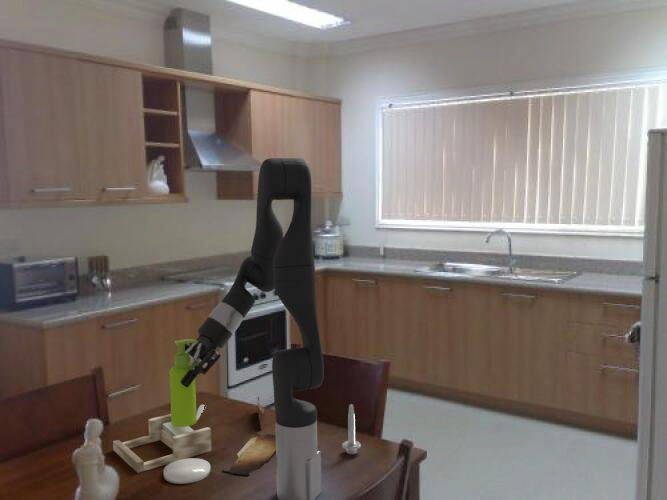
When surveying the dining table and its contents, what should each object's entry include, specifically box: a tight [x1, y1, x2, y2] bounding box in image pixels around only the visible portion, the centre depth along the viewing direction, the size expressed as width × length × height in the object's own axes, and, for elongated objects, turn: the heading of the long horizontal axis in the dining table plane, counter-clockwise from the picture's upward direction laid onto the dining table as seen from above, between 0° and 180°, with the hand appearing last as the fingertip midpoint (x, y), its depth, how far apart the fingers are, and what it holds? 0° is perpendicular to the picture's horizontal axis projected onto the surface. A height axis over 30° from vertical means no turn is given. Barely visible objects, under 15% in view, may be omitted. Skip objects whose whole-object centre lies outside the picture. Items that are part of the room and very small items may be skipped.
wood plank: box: [256, 396, 265, 428], centre depth 182 cm, size 15×2×5 cm, turn 9°
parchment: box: [222, 433, 276, 477], centre depth 159 cm, size 25×10×1 cm, turn 167°
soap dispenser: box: [168, 338, 198, 427], centre depth 146 cm, size 6×7×20 cm
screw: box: [341, 403, 362, 455], centre depth 159 cm, size 13×5×5 cm
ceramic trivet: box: [163, 457, 211, 485], centre depth 149 cm, size 11×11×1 cm
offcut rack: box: [112, 413, 212, 474], centre depth 161 cm, size 20×17×6 cm
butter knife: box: [196, 404, 206, 421], centre depth 183 cm, size 1×27×3 cm
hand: (177, 381), depth 145 cm, fingers closed on soap dispenser, 6 cm apart
